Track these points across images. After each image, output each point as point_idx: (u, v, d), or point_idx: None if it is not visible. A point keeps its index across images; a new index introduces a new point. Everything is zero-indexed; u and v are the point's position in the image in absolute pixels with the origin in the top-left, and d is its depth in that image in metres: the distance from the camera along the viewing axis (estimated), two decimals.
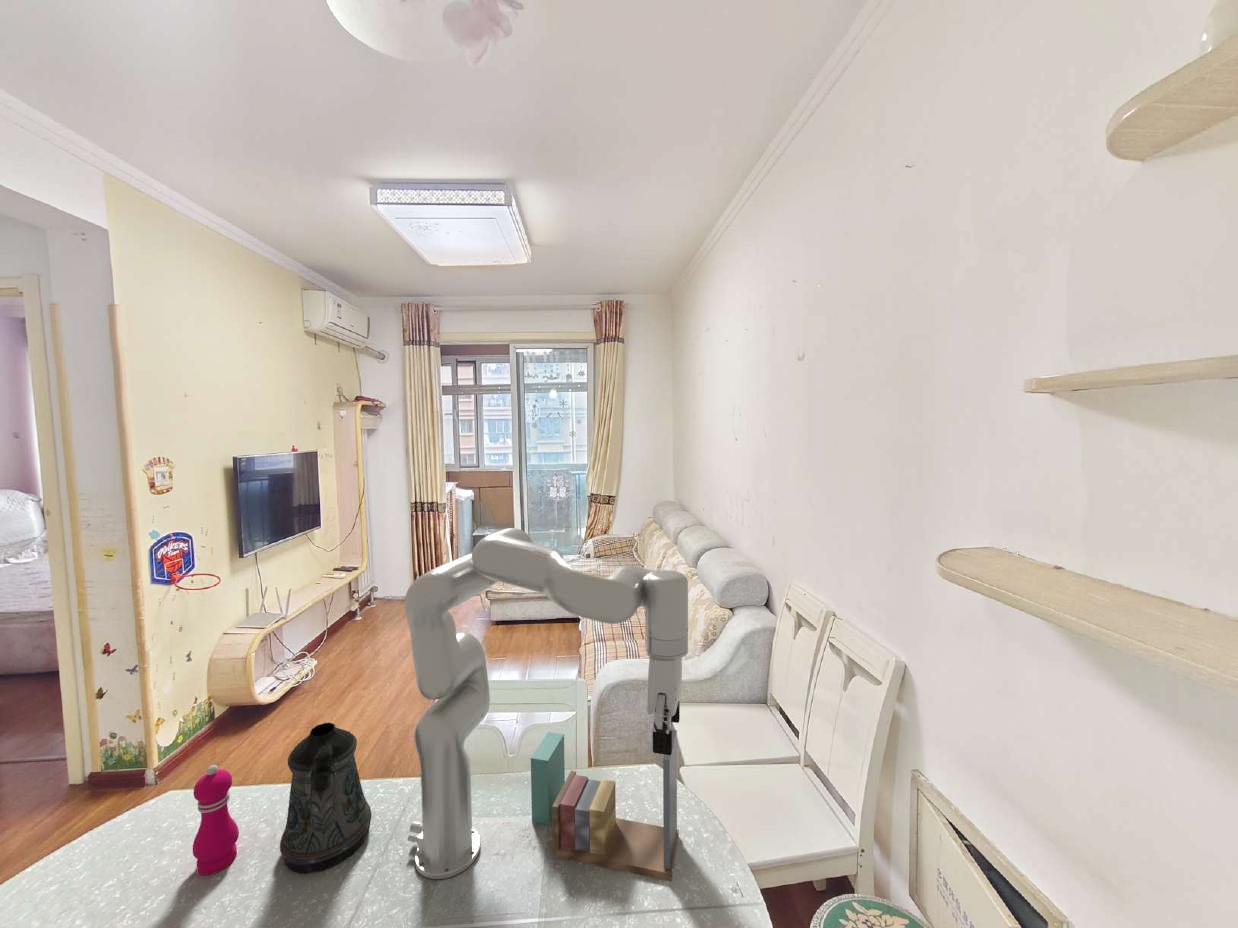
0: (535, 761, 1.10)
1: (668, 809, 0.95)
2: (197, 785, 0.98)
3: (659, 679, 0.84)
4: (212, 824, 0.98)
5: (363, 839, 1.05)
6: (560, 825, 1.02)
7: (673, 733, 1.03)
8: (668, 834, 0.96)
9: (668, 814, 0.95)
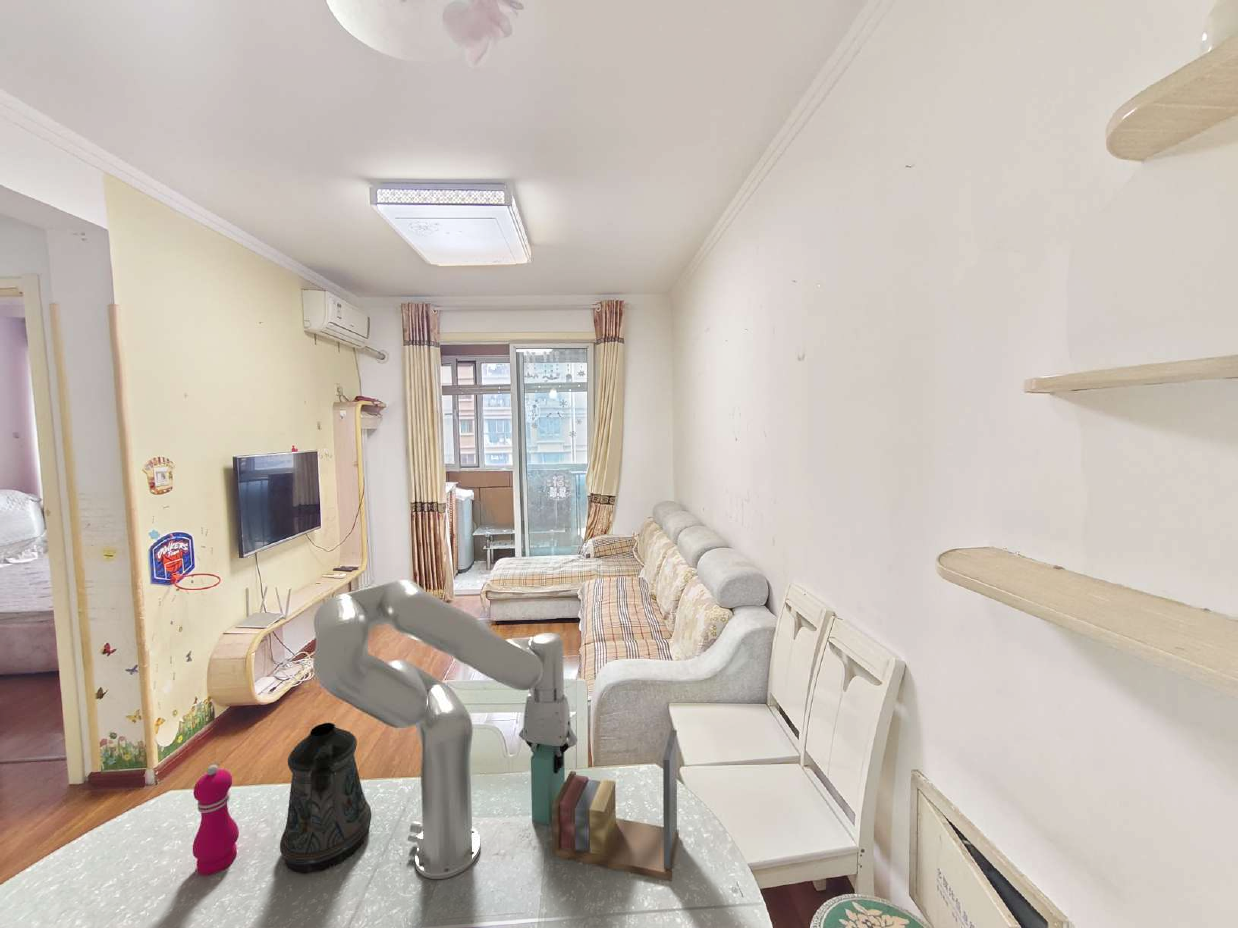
0: (535, 761, 1.10)
1: (668, 809, 0.95)
2: (197, 785, 0.98)
3: (567, 712, 1.12)
4: (212, 824, 0.98)
5: (363, 839, 1.05)
6: (560, 825, 1.02)
7: (673, 733, 1.03)
8: (668, 834, 0.96)
9: (668, 814, 0.95)
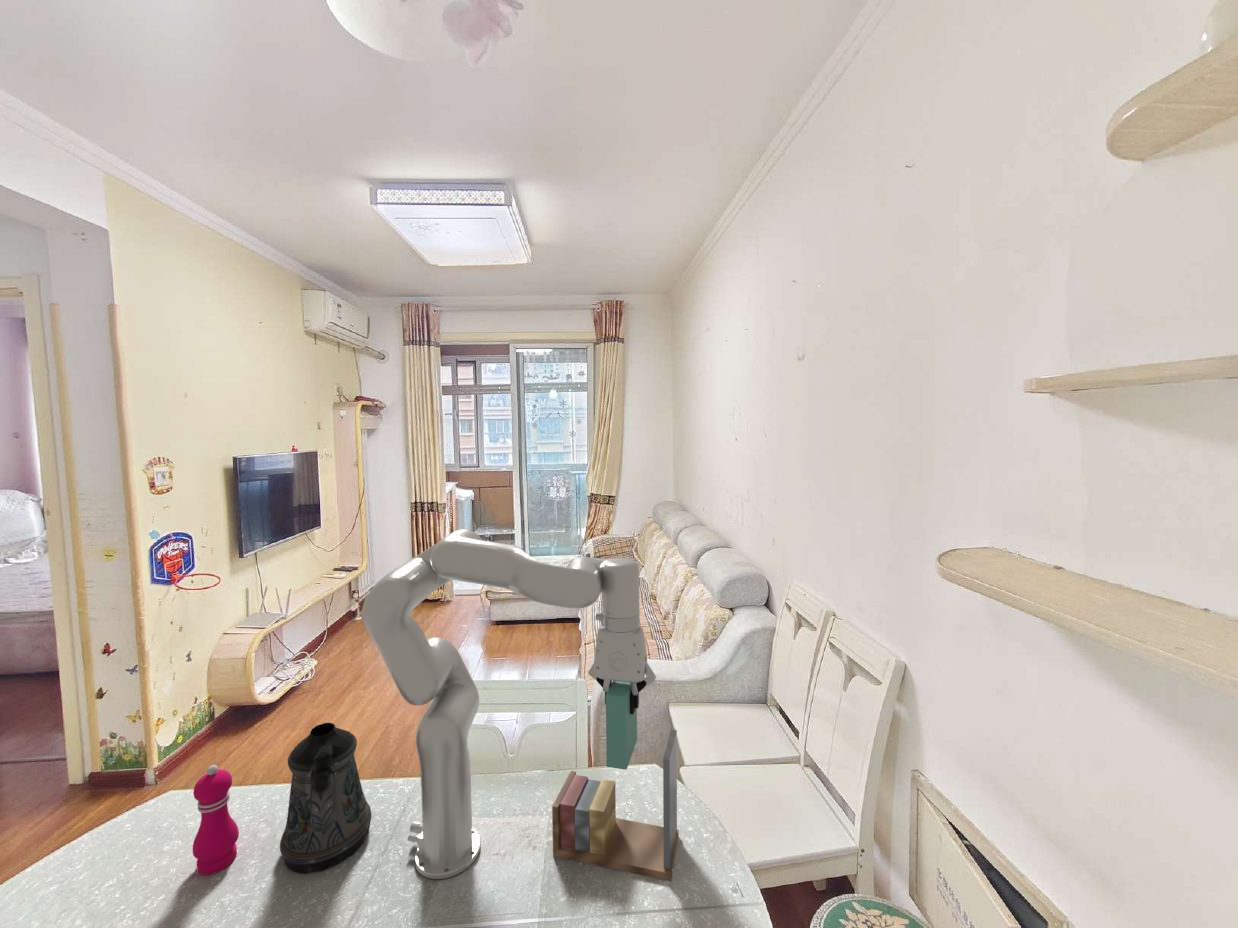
0: (611, 698, 0.97)
1: (668, 809, 0.95)
2: (197, 785, 0.98)
3: (644, 645, 1.00)
4: (212, 824, 0.98)
5: (363, 839, 1.05)
6: (560, 825, 1.02)
7: (673, 733, 1.03)
8: (668, 834, 0.96)
9: (668, 814, 0.95)
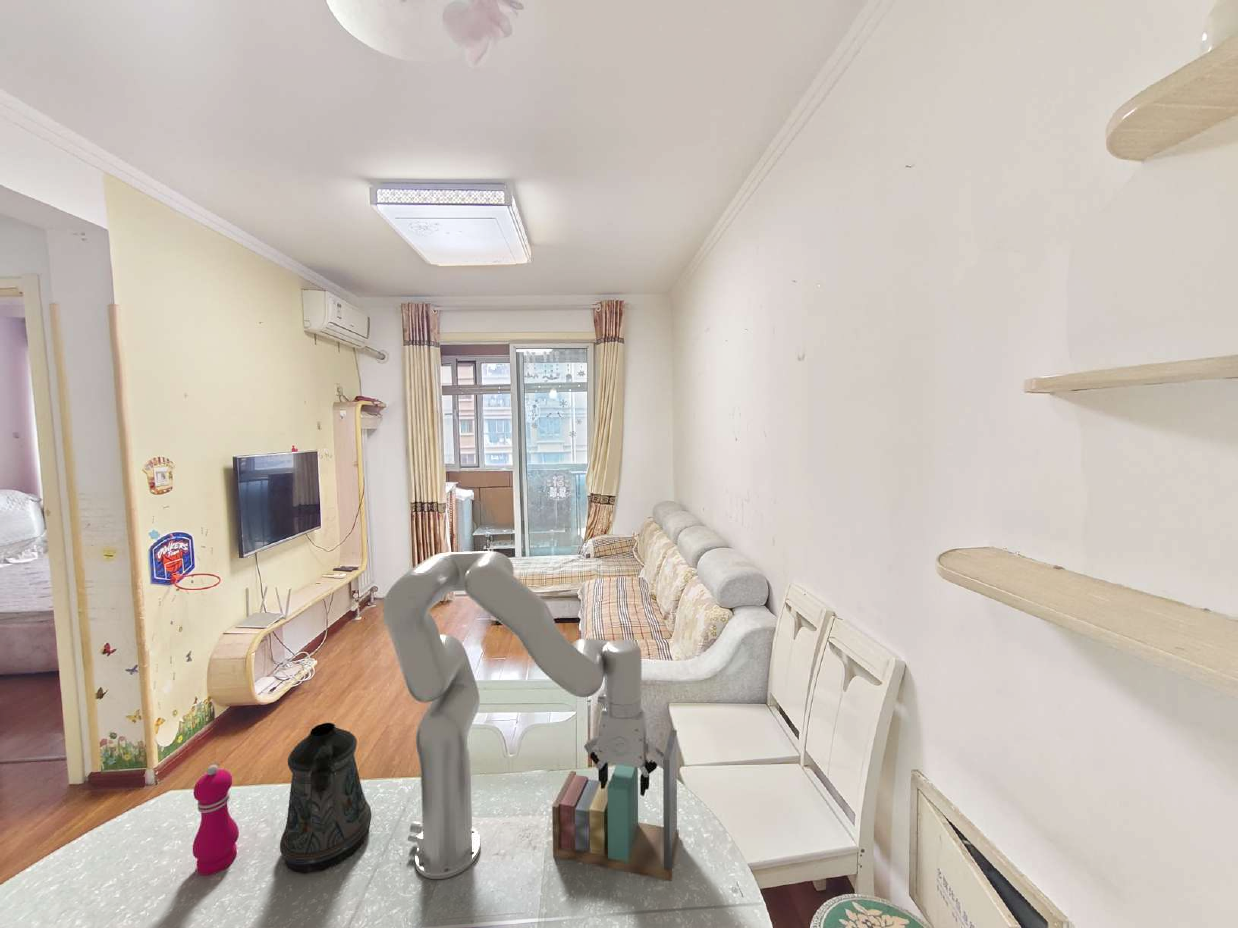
0: (612, 791, 0.98)
1: (668, 809, 0.95)
2: (197, 785, 0.98)
3: (646, 729, 1.00)
4: (212, 824, 0.98)
5: (363, 839, 1.05)
6: (560, 825, 1.02)
7: (673, 733, 1.03)
8: (668, 834, 0.96)
9: (668, 814, 0.95)
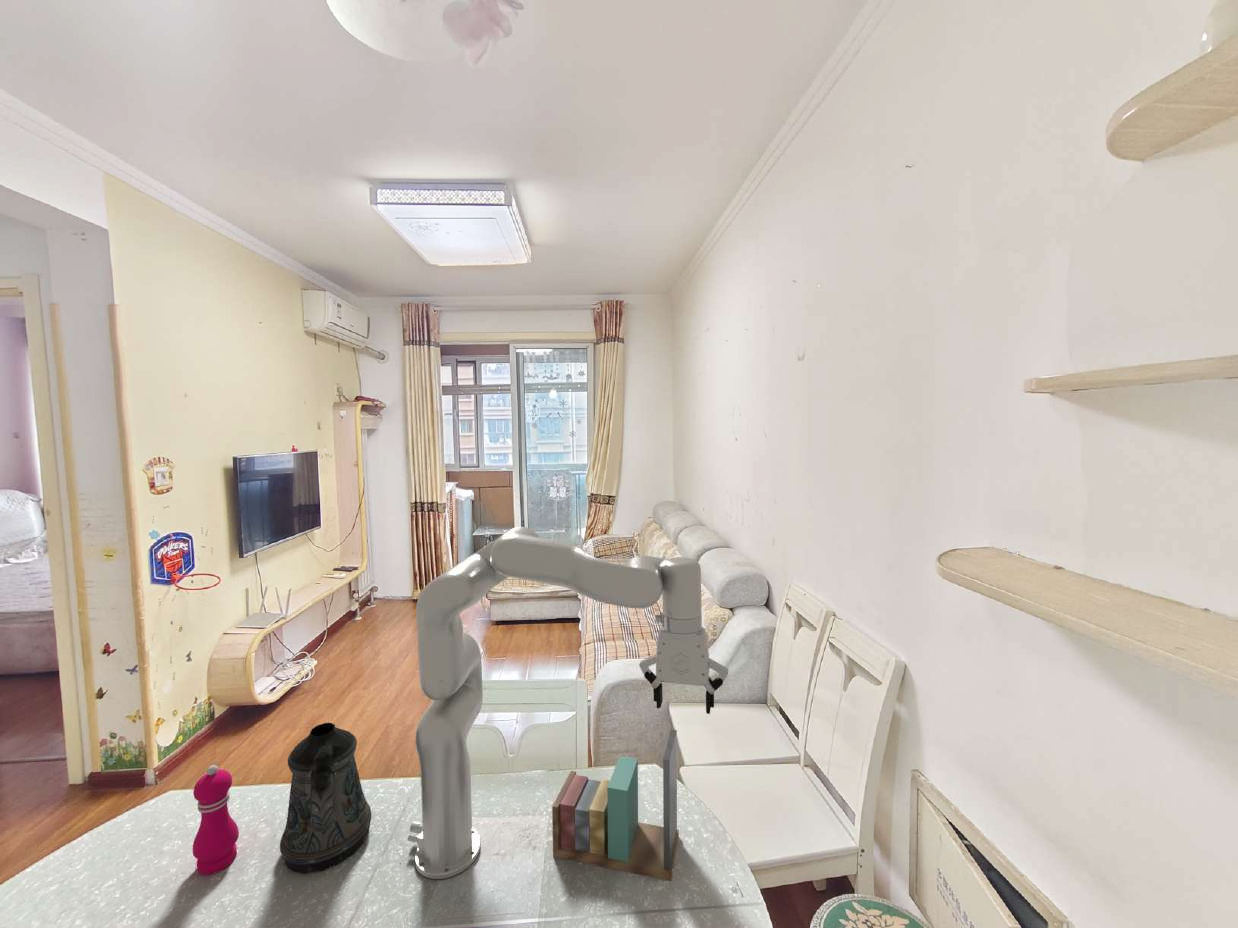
0: (612, 791, 0.98)
1: (668, 809, 0.95)
2: (197, 785, 0.98)
3: (707, 647, 0.96)
4: (212, 824, 0.98)
5: (363, 839, 1.05)
6: (560, 825, 1.02)
7: (673, 733, 1.03)
8: (668, 834, 0.96)
9: (668, 814, 0.95)
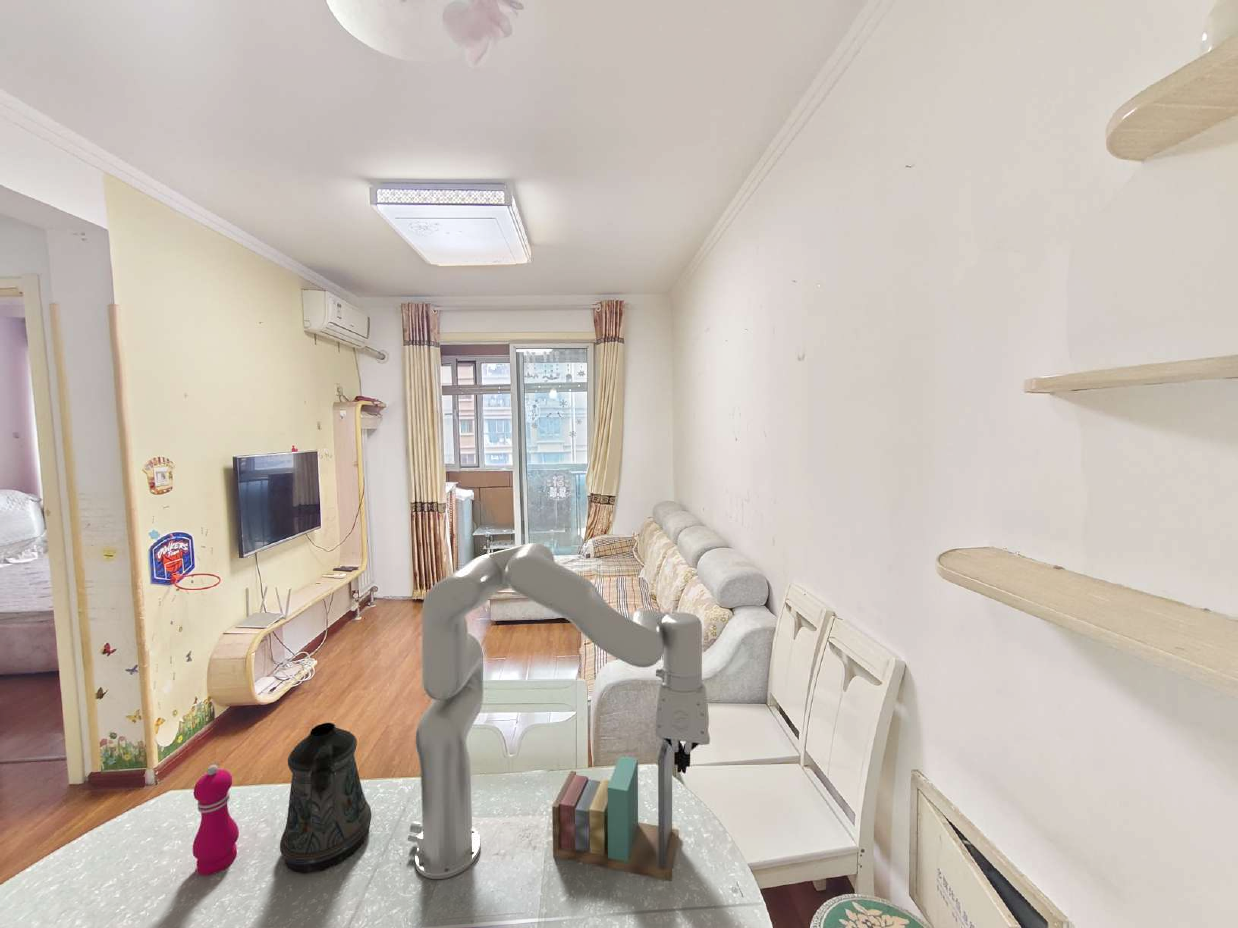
0: (612, 791, 0.98)
1: (663, 808, 0.96)
2: (197, 785, 0.98)
3: (707, 704, 0.97)
4: (212, 824, 0.98)
5: (363, 839, 1.05)
6: (560, 825, 1.02)
7: None
8: (663, 833, 0.96)
9: (663, 813, 0.96)
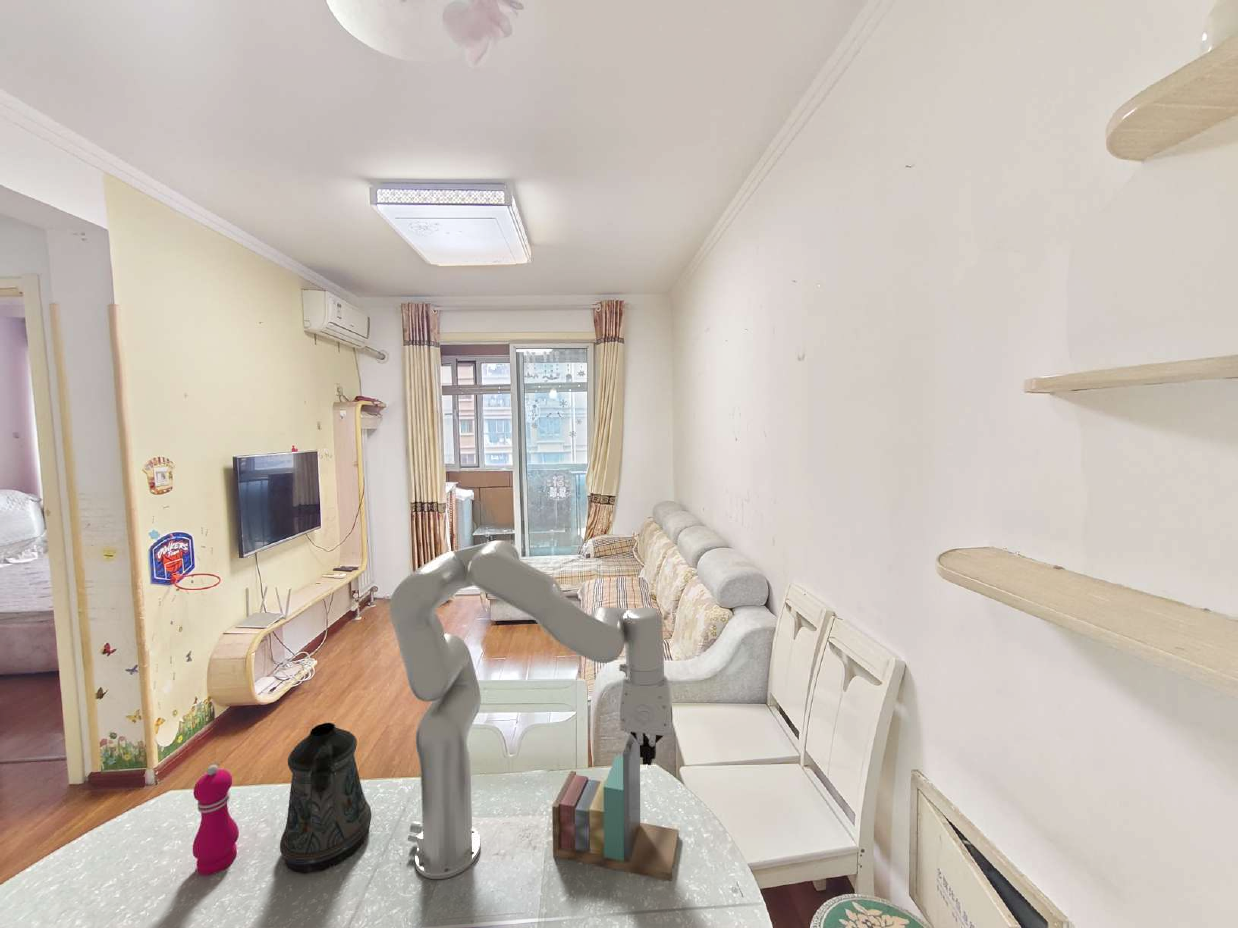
0: (608, 790, 0.98)
1: (628, 802, 0.97)
2: (197, 785, 0.98)
3: (669, 697, 0.99)
4: (212, 824, 0.98)
5: (363, 839, 1.05)
6: (560, 825, 1.02)
7: None
8: (628, 826, 0.98)
9: (628, 807, 0.97)
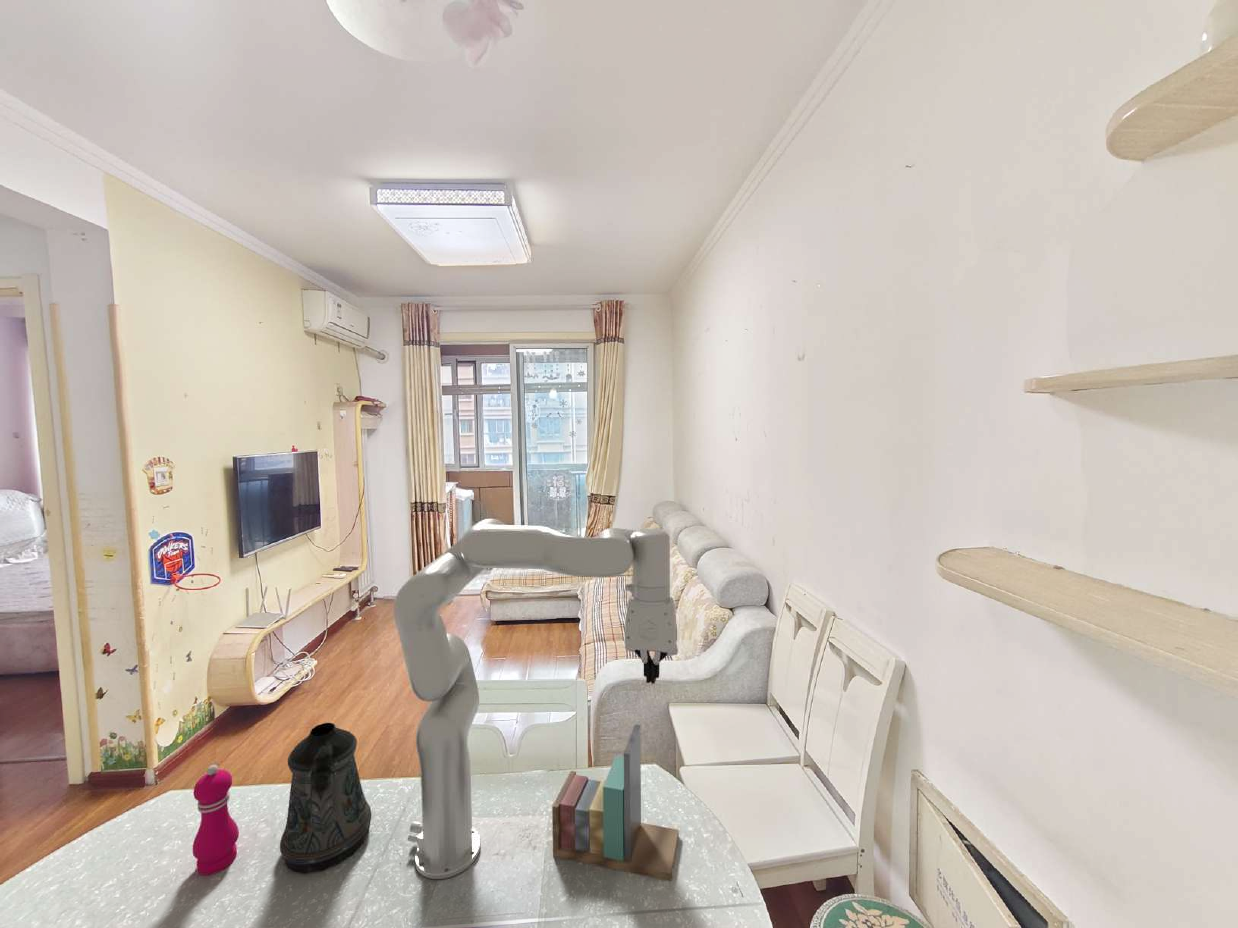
0: (608, 790, 0.98)
1: (628, 802, 0.97)
2: (197, 785, 0.98)
3: (675, 615, 1.00)
4: (212, 824, 0.98)
5: (363, 839, 1.05)
6: (560, 825, 1.02)
7: (636, 728, 1.05)
8: (629, 826, 0.97)
9: (629, 807, 0.97)
